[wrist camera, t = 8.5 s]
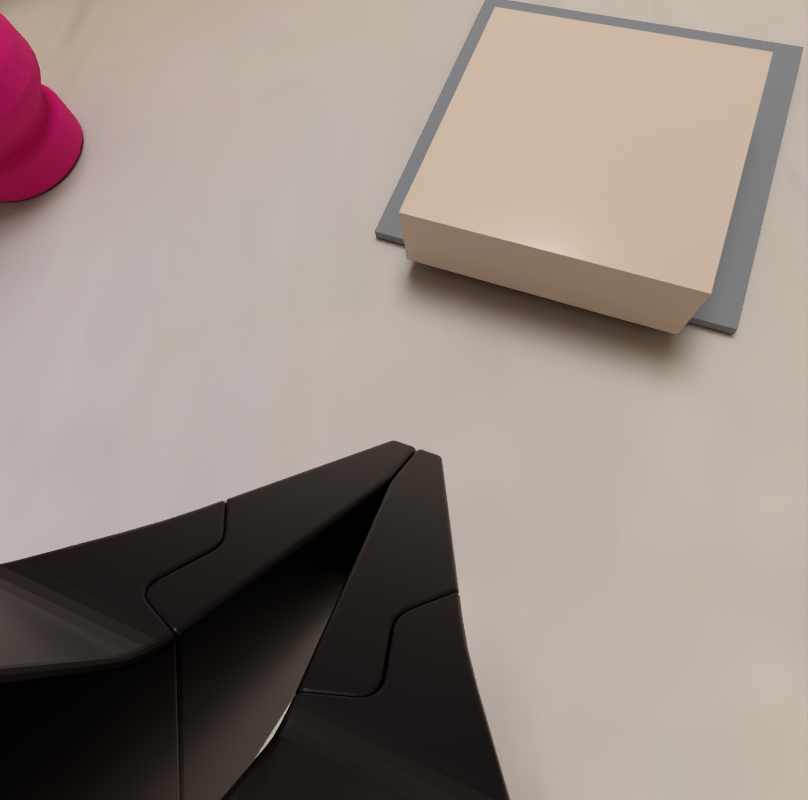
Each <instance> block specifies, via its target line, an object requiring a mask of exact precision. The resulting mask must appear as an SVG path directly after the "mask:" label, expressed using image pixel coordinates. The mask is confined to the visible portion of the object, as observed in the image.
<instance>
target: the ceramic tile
mask: <svg viewBox="0 0 808 800" xmlns="http://www.w3.org/2000/svg"><path fill="white" fill-rule="evenodd" d="M772 54H773V52H769V51H763V50H757V49H751V48H745V47H739V46H733V45H727V44H720V43H714V42H708V41H702V40H696V39H690V38H684V37H678V36H671V35H665V34H659V33H653V32H647V31H641V30H635V29H629V28H622V27H616V26H610V25H604V24H598V23H592V22H586V21H580V20H573V19H567V18H561V17H555V16H549V15H543V14H537V13H531V12H524V11H518V10H512V9H506V8H500V7H495V8H494V10H493V12H492V14H491V17H490V19H489V21H488V23H487V25H486V27H485V29H484V32H483V34H482V36H481V38H480V40H479V42H478V44H477V46H476V49H475V51H474V53H473V55H472V57H471V59H470V61H469V64H468V66H467V68H466V70H465V72H464V74H463V76H462V79H461V81H460V83H459V85H458V87H457V89H456V91H455V93H454V96H453V98H452V100H451V102H450V104H449V106H448V108H447V111H446V113H445V115H444V117H443V119H442V121H441V123H440V125H439V128H438V130H437V132H436V134H435V136H434V138H433V140H432V143H431V145H430V147H429V149H428V151H427V153H426V155H425V158H424V160H423V162H422V164H421V166H420V168H419V170H418V172H417V175H416V177H415V179H414V181H413V183H412V185H411V187H410V190H409V192H408V194H407V196H406V198H405V200H404V202H403V204H402V207H401V209H400V211H399V216H400V222H401V228H402V233H403V239H404V244H405V250H406V256H407V259H408V260H411V261H415V262H419V263H422V264H426V265H429V266H433V267H436V268H440V269H444V270H447V271H451V272H454V273H458V274H461V275H465V276H469V277H472V278H476V279H479V280H483V281H486V282H490V283H494V284H497V285H501V286H504V287H508V288H511V289H515V290H519V291H522V292H526V293H529V294H533V295H536V296H540V297H544V298H547V299H551V300H554V301H558V302H561V303H565V304H568V305H572V306H576V307H579V308H583V309H586V310H590V311H593V312H597V313H601V314H604V315H608V316H611V317H615V318H618V319H622V320H626V321H629V322H633V323H636V324H640V325H643V326H647V327H651V328H654V329H658V330H661V331H665V332H668V333H672V334H676V335H678V334H679V333H680V331H681V330H682V329H683V328H684V326H685V325H686V324H687V323H688V321H689V320H690V319H691V318H692V317H693V315H694V314H695V313H696V312H697V310H698V309H699V308H700V307H701V306H702V304H703V303H704V302H705V301H706V299H707V298H708V297H709V296H710V294H711V292H712V288H713V284H714V280H715V276H716V273H717V269H718V265H719V261H720V257H721V253H722V249H723V245H724V241H725V238H726V234H727V230H728V226H729V222H730V218H731V214H732V210H733V206H734V202H735V199H736V195H737V191H738V187H739V183H740V179H741V175H742V171H743V167H744V164H745V160H746V156H747V152H748V148H749V144H750V140H751V136H752V132H753V128H754V125H755V121H756V117H757V113H758V109H759V105H760V101H761V97H762V93H763V89H764V86H765V82H766V78H767V74H768V70H769V66H770V62H771V58H772Z"/></svg>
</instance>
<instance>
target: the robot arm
mask: <svg viewBox="0 0 808 800" xmlns="http://www.w3.org/2000/svg"><path fill="white" fill-rule="evenodd" d="M458 594H459V590H458V582H457V574H456V566H455V558H454V551H453V543H452V535H451V527H450V519H449V511H448V504H447V496H446V488H445V480H444V472H443V465H442V459H441V457H440V456H438V455H436V454H433V453H430V452H427V451H424V450H417V451H416V449H415V448H414V447H412V446H409V445H406V444H403V443H400V442H398V441H390V442H387V443H384V444H381V445H379V446H376V447H373V448H370V449H367V450H364V451H362V452H359V453H356V454H353V455H350V456H348V457H345V458H342V459H339V460H336V461H334V462H331V463H328V464H325V465H322V466H319V467H317V468H314V469H311V470H308V471H305V472H303V473H300V474H297V475H294V476H291V477H288V478H286V479H283V480H280V481H277V482H274V483H272V484H269V485H266V486H263V487H260V488H258V489H255V490H252V491H249V492H246V493H243V494H241V495H238V496H235V497H232V498H229V499H227V501H226V503H225V502H224V501H220V502H218V503H215V504H212V505H209V506H206V507H203V508H201V509H198V510H195V511H192V512H189V513H186V514H183V515H179V516H176V517H173V518H170V519H167V520H164V521H161V522H157V523H154V524H150V525H147V526H143V527H140V528H136V529H133V530H129V531H126V532H122V533H119V534H115V535H111V536H107V537H104V538H100V539H96V540H92V541H88V542H85V543H81V544H77V545H73V546H70V547H66V548H62V549H58V550H55V551H51V552H47V553H43V554H40V555H36V556H32V557H28V558H25V559H21V560H17V561H12V562H8V563H4V564H0V800H510V798H509V794H508V791H507V788H506V784H505V781H504V777H503V774H502V771H501V767H500V764H499V760H498V757H497V753H496V750H495V746H494V743H493V739H492V736H491V732H490V729H489V725H488V722H487V719H486V715H485V712H484V708H483V705H482V701H481V698H480V694H479V691H478V687H477V683H476V679H475V676H474V672H473V668H472V664H471V660H470V656H469V652H468V647H467V641H466V635H465V630H464V624H463V618H462V611H461V603H460V596H459V595H458ZM295 694H296V695H295ZM291 700H292V702H291ZM290 702H291V704H290ZM289 704H290V706H289V708H288V710H287V712H286V714H285V716H284V718H283V720H282V722H281V724H280V726H279V727H278V729H277V731H276V733H275V734H274V736H273V738H272V739H271V740H270V742H269V743H268V744H267V746H266V747H265V748H264V749H263V750H262V752H261V753H260V754H259V755H258V756H257V754H258V753H259V751H260V749H261V748H262V746H263V745H264V743H265V742H266V740H267V738H268V737H269V735H270V734H271V732H272V730H273V729H274V727H275V726H276V724H277V723H278V721H279V719H280V718H281V716H282V715H283V713H284V711H285V710H286V708H287V707H288V705H289ZM256 756H257V757H256ZM255 757H256V759H255ZM254 759H255V760H254Z"/></svg>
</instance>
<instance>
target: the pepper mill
mask: <svg viewBox="0 0 808 800" xmlns="http://www.w3.org/2000/svg"><path fill="white" fill-rule="evenodd" d="M82 141H83V137H82V131H81V127H80V125H79V122H78V120H77V119H76V118H75V116H74V115H73V114H72V113H71V111H70V110H69V109H68V108H67V107H66V105H65V104H64V103H63V102H62V101H61V99H60V98H59V97H58V96H57V95H56V94H55V93H54V92H53V91H52V90H51V89H50V88H48V87H47V86H45V85H42V84H41V75H40V68H39V65H38V61H37V59H36V56H35V53H34V52H33V50H32V49H31V47H30V46H29V44H28V42H27V41H26V40H25V39H24V38H23V37H22V35H21V34H20V33H19V32H18V31H17V30H16V29H15V28H14V27H13V25H12V24H11V23H10V22H9V21H8V20H7V19H6V18H5V17H4V16H3V15H2V14H1V13H0V201H4V202H9V201H19V200H25V199H28V198H31V197H34V196H36V195H39V194H41V193H42V192H44V191H46V190H48V189H49V188H51V187H53V186H54V185H55V184H57V183H58V182H59V181H60V180H61V179H62V178H63V177H65V176H66V174H67V173H68V172H69V171H70V169H71V168H72V167H73V165H74V164H75V162H76V160H77V158H78V156H79V154H80V150H81V145H82Z"/></svg>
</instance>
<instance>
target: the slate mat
mask: <svg viewBox="0 0 808 800" xmlns="http://www.w3.org/2000/svg"><path fill="white" fill-rule="evenodd" d="M495 7H500V8H506V9H512V10H518V11H524V12H531V13H537V14H543V15H549V16H555V17H561V18H567V19H573V20H580V21H586V22H592V23H598V24H604V25H610V26H616V27H622V28H629V29H635V30H641V31H647V32H653V33H659V34H665V35H671V36H678V37H684V38H690V39H696V40H702V41H708V42H714V43H720V44H727V45H733V46H739V47H745V48H751V49H757V50H763V51H769V52H773V54H772V58H771V62H770V66H769V70H768V74H767V78H766V82H765V86H764V89H763V93H762V97H761V101H760V105H759V109H758V113H757V117H756V121H755V125H754V128H753V132H752V136H751V140H750V144H749V148H748V152H747V156H746V160H745V164H744V167H743V171H742V175H741V179H740V183H739V187H738V191H737V195H736V199H735V202H734V206H733V210H732V214H731V218H730V222H729V226H728V230H727V234H726V238H725V241H724V245H723V249H722V253H721V257H720V261H719V265H718V269H717V273H716V276H715V280H714V284H713V288H712V292H711V294H710V296H709V297H708V298H707V299H706V301H705V302H704V303H703V304H702V306H701V307H700V308H699V309H698V310H697V312H696V313H695V314H694V315H693V317H692V318H691V319H690V320H689V321H688V322H689V323H693V324H697V325H700V326H704V327H708V328H711V329H715V330H719V331H722V332H726V333H730V334H733V333H734V332H735V331H736V330H737V328H738V324H739V319H740V315H741V311H742V306H743V302H744V298H745V294H746V289H747V285H748V281H749V277H750V272H751V268H752V264H753V260H754V255H755V251H756V247H757V243H758V238H759V234H760V230H761V225H762V221H763V217H764V213H765V208H766V204H767V200H768V196H769V191H770V187H771V183H772V179H773V174H774V170H775V166H776V162H777V157H778V153H779V149H780V144H781V140H782V136H783V132H784V127H785V123H786V119H787V115H788V110H789V106H790V102H791V98H792V93H793V89H794V85H795V81H796V76H797V72H798V68H799V63H800V59H801V55H802V51H803V47H799V46H792V45H786V44H780V43H773V42H767V41H761V40H755V39H748V38H742V37H736V36H729V35H723V34H717V33H711V32H704V31H698V30H692V29H685V28H679V27H673V26H667V25H660V24H654V23H648V22H641V21H635V20H629V19H623V18H616V17H610V16H604V15H597V14H591V13H585V12H579V11H572V10H566V9H560V8H553V7H547V6H541V5H534V4H528V3H522V2H516V1H509V0H485V1H484V4H483V6H482V8H481V10H480V12H479V14H478V16H477V18H476V20H475V22H474V25H473V27H472V29H471V31H470V33H469V35H468V37H467V39H466V41H465V43H464V46H463V48H462V50H461V52H460V54H459V56H458V58H457V60H456V62H455V64H454V67H453V69H452V71H451V73H450V75H449V77H448V79H447V81H446V83H445V85H444V88H443V90H442V92H441V94H440V96H439V98H438V100H437V102H436V104H435V106H434V109H433V111H432V113H431V115H430V117H429V119H428V121H427V123H426V125H425V127H424V130H423V132H422V134H421V136H420V138H419V140H418V142H417V144H416V146H415V148H414V151H413V153H412V155H411V157H410V159H409V161H408V163H407V165H406V167H405V169H404V171H403V174H402V176H401V178H400V180H399V182H398V184H397V186H396V188H395V190H394V192H393V195H392V197H391V199H390V201H389V203H388V205H387V207H386V209H385V211H384V213H383V216H382V218H381V220H380V222H379V224H378V226H377V228H376V230H375V234H376V237H378V238H382V239H385V240H389V241H393V242H396V243H400V244H404V239H403V233H402V228H401V222H400V216H399V211H400V209H401V207H402V204H403V202H404V200H405V198H406V196H407V194H408V192H409V190H410V187H411V185H412V183H413V181H414V179H415V177H416V175H417V172H418V170H419V168H420V166H421V164H422V162H423V160H424V158H425V155H426V153H427V151H428V149H429V147H430V145H431V143H432V140H433V138H434V136H435V134H436V132H437V130H438V128H439V125H440V123H441V121H442V119H443V117H444V115H445V113H446V111H447V108H448V106H449V104H450V102H451V100H452V98H453V96H454V93H455V91H456V89H457V87H458V85H459V83H460V81H461V79H462V76H463V74H464V72H465V70H466V68H467V66H468V64H469V61H470V59H471V57H472V55H473V53H474V51H475V49H476V46H477V44H478V42H479V40H480V38H481V36H482V34H483V32H484V29H485V27H486V25H487V23H488V21H489V19H490V17H491V14H492V12H493V10H494V8H495ZM404 245H405V244H404Z"/></svg>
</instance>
